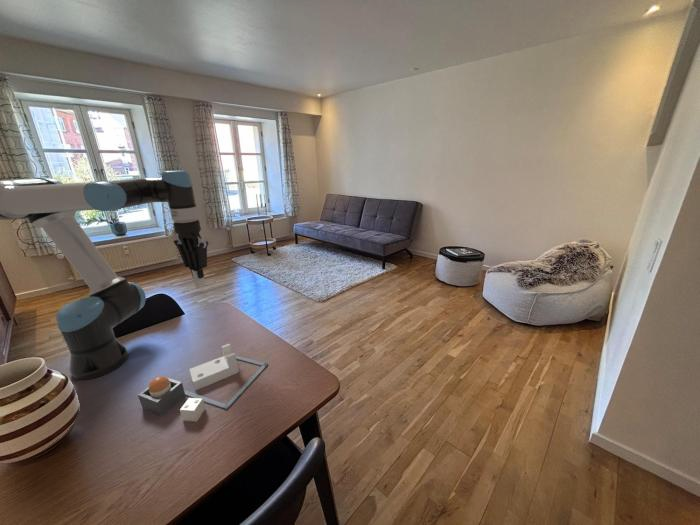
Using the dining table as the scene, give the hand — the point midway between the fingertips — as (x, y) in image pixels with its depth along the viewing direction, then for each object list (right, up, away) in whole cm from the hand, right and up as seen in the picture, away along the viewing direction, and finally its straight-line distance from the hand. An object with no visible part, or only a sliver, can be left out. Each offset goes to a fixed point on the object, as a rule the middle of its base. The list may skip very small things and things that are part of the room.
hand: (200, 285), depth 99 cm
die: (+10, -34, -22) cm, 42 cm away
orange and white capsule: (-1, -32, -18) cm, 36 cm away
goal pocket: (+13, -29, -9) cm, 33 cm away
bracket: (+9, -29, -7) cm, 31 cm away
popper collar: (-1, -32, -17) cm, 37 cm away
